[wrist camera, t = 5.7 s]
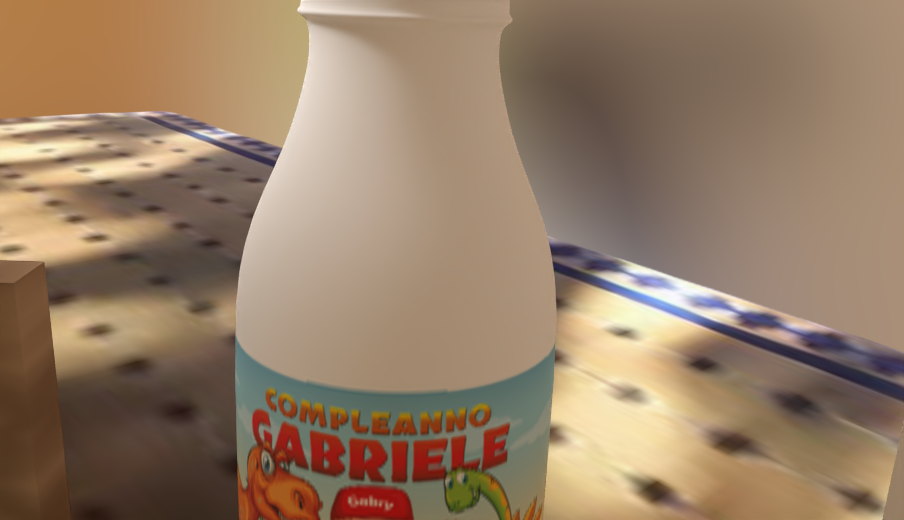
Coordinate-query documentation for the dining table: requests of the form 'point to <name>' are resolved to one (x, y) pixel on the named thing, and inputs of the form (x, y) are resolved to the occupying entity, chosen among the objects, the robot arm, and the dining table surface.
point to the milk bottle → (396, 283)
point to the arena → (29, 400)
